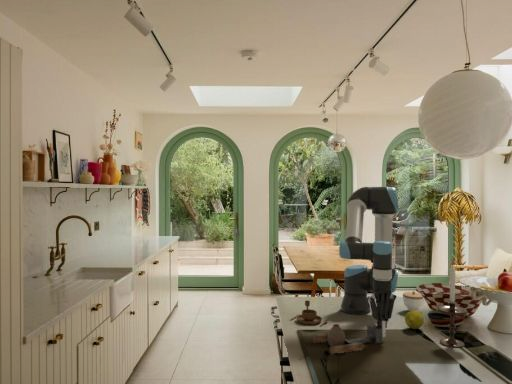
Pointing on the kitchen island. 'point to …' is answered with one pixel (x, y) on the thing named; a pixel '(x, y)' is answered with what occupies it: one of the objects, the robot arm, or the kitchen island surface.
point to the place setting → (309, 316)
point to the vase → (336, 336)
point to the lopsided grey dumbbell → (368, 335)
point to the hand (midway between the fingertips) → (381, 335)
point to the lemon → (414, 319)
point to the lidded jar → (413, 300)
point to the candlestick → (452, 313)
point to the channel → (338, 348)
